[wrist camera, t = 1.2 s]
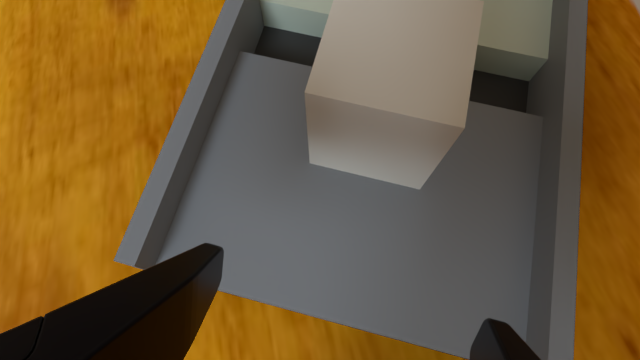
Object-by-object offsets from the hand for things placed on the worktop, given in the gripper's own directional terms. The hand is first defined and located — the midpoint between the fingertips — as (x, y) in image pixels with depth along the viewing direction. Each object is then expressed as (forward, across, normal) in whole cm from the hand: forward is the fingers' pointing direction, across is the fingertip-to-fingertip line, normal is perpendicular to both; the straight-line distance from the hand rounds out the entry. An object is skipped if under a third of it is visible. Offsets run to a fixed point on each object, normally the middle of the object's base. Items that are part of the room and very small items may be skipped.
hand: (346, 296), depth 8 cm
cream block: (+15, 0, +1) cm, 15 cm away
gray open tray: (+19, 0, +1) cm, 19 cm away
